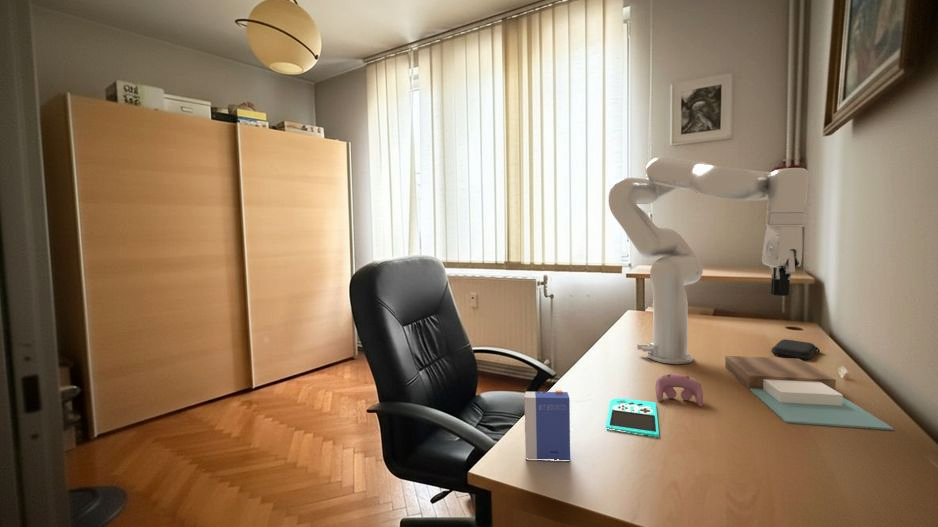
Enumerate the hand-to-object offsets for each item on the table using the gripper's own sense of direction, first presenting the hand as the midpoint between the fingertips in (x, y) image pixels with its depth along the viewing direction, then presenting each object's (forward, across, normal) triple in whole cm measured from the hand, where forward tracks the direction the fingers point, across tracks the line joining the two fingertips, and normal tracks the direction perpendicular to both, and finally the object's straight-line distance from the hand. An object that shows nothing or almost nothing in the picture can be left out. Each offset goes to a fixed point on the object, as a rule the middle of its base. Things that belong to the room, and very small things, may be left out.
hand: (779, 294), depth 101 cm
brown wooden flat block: (+23, -4, +2) cm, 23 cm away
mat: (+23, +14, +3) cm, 27 cm away
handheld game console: (+24, +26, -36) cm, 51 cm away
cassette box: (+22, +8, +2) cm, 24 cm away
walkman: (+24, +46, -52) cm, 74 cm away
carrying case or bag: (+24, -30, +18) cm, 42 cm away
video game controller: (+24, +15, -25) cm, 37 cm away
